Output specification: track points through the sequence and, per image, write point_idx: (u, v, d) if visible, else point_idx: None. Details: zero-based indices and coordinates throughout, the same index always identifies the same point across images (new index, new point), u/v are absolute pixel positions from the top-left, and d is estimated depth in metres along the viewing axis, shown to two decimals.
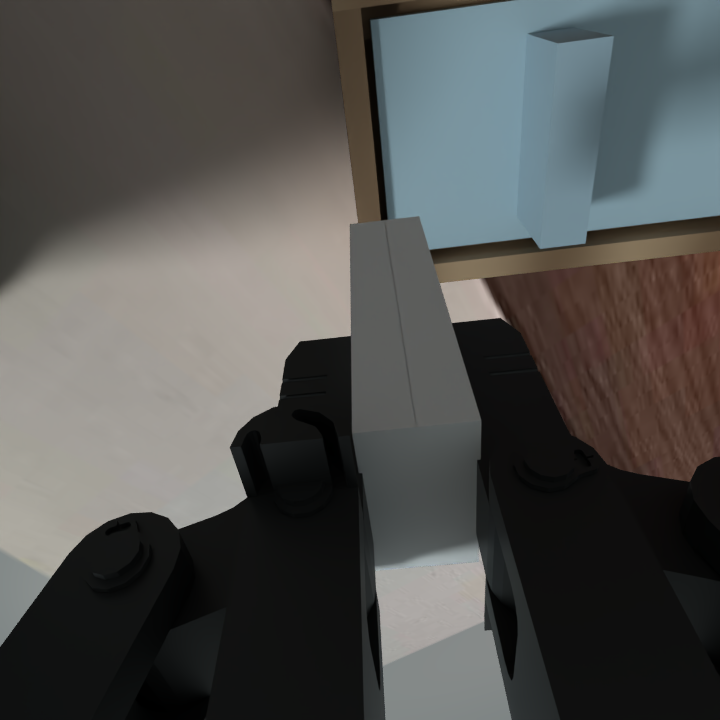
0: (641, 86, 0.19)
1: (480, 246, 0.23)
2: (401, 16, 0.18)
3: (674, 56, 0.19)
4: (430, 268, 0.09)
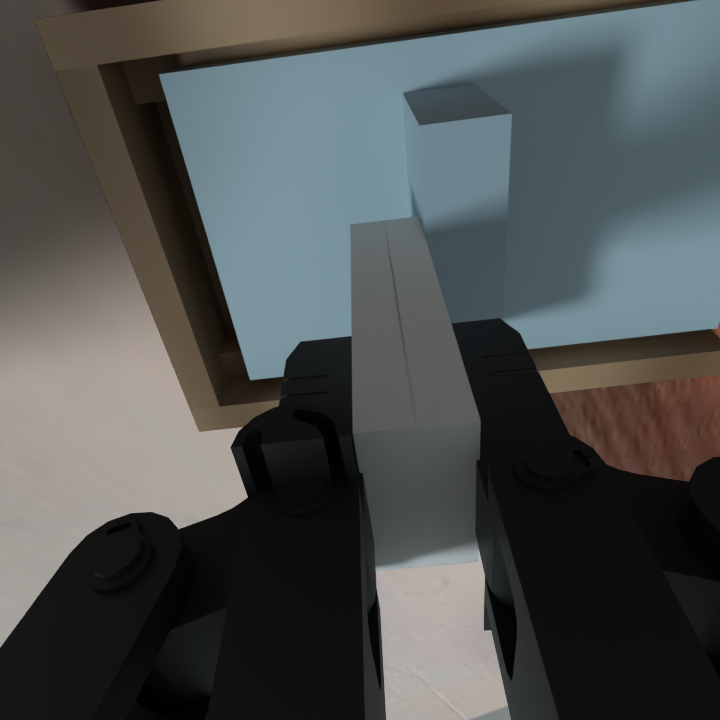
0: (581, 165, 0.13)
1: None
2: (206, 67, 0.12)
3: (628, 123, 0.12)
4: (429, 268, 0.09)
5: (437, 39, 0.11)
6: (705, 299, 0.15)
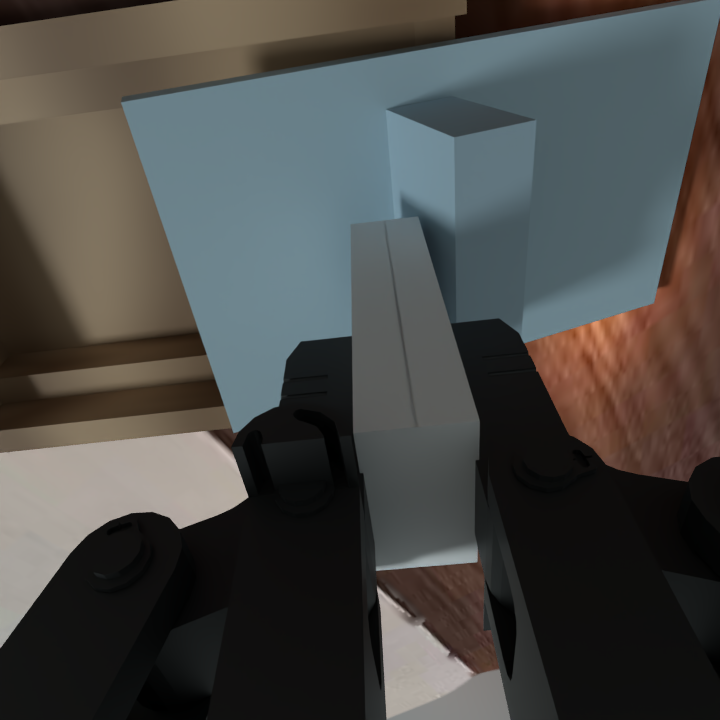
0: (546, 168, 0.14)
1: (124, 394, 0.17)
2: (176, 91, 0.10)
3: (582, 126, 0.13)
4: (429, 268, 0.09)
5: (417, 53, 0.11)
6: (644, 279, 0.17)
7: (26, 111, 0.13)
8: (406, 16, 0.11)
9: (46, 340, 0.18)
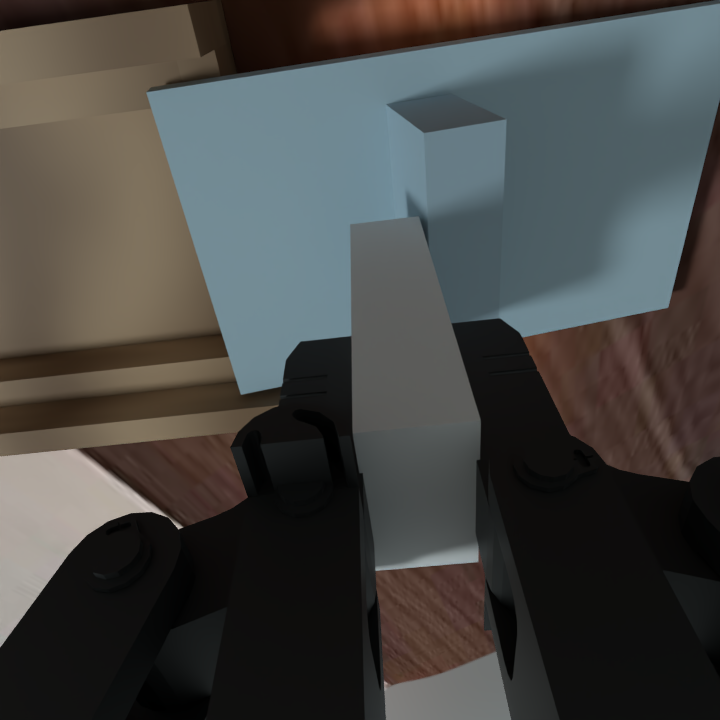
0: (548, 166, 0.14)
1: None
2: (194, 84, 0.12)
3: (587, 126, 0.14)
4: (430, 268, 0.09)
5: (417, 53, 0.12)
6: (657, 282, 0.17)
7: None
8: (141, 59, 0.11)
9: None
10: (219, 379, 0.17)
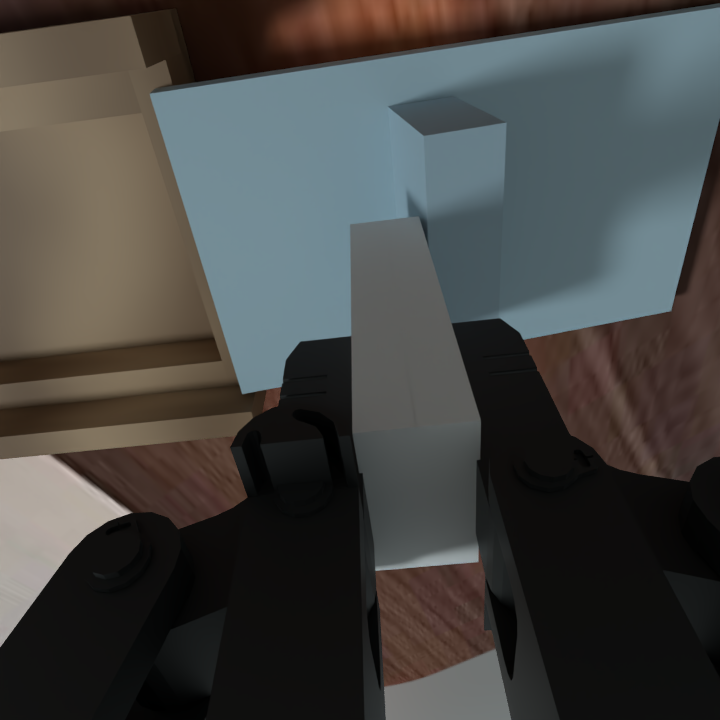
0: (550, 168, 0.14)
1: None
2: (197, 86, 0.12)
3: (589, 129, 0.14)
4: (430, 268, 0.09)
5: (419, 55, 0.12)
6: (659, 285, 0.17)
7: None
8: (87, 70, 0.11)
9: None
10: (184, 386, 0.17)
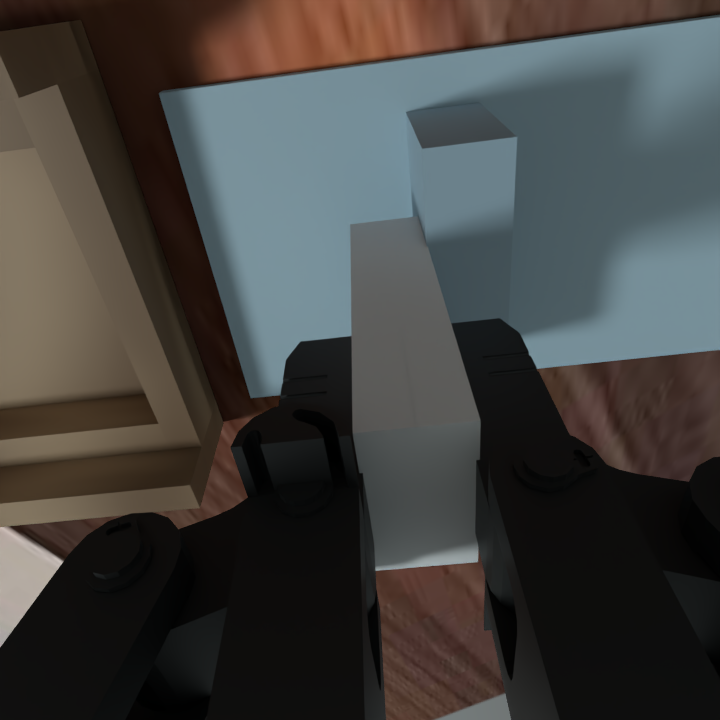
0: (589, 184, 0.13)
1: None
2: (207, 86, 0.11)
3: (637, 143, 0.12)
4: (429, 268, 0.09)
5: (441, 58, 0.11)
6: (716, 319, 0.15)
7: None
8: None
9: None
10: (118, 450, 0.15)
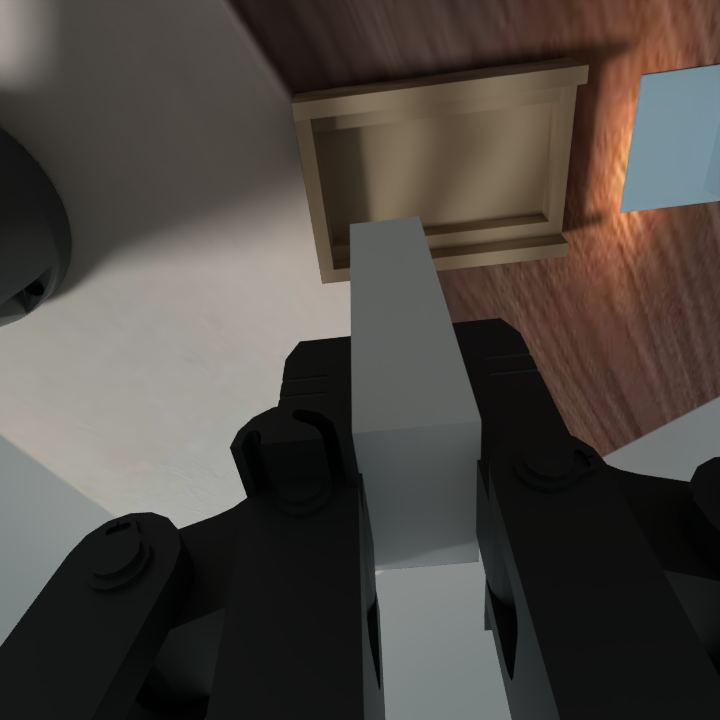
0: None
1: None
2: None
3: None
4: (430, 268, 0.09)
5: None
6: None
7: (398, 118, 0.31)
8: (564, 84, 0.29)
9: None
10: (525, 236, 0.35)
